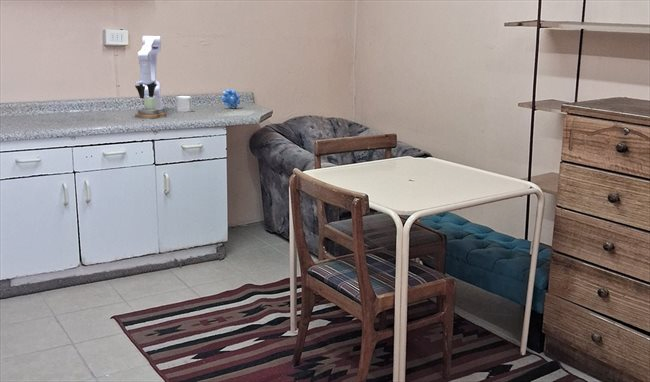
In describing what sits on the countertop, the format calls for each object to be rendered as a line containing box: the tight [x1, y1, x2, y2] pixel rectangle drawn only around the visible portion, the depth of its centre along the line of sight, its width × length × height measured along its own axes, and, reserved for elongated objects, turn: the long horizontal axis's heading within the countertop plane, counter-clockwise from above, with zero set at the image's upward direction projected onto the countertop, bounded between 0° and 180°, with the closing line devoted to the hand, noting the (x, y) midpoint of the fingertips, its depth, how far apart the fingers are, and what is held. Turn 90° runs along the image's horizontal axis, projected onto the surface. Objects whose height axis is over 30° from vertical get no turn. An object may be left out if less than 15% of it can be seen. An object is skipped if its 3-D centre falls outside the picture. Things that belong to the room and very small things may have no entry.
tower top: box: [137, 107, 165, 115], centre depth 400 cm, size 10×10×2 cm
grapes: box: [221, 88, 241, 109], centre depth 437 cm, size 12×7×12 cm, turn 114°
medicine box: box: [175, 95, 193, 113], centre depth 424 cm, size 8×4×9 cm, turn 84°
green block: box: [143, 97, 156, 110], centre depth 399 cm, size 4×4×6 cm
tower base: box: [134, 112, 167, 120], centre depth 401 cm, size 12×12×2 cm
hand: (146, 97), depth 400 cm, fingers open, 7 cm apart
